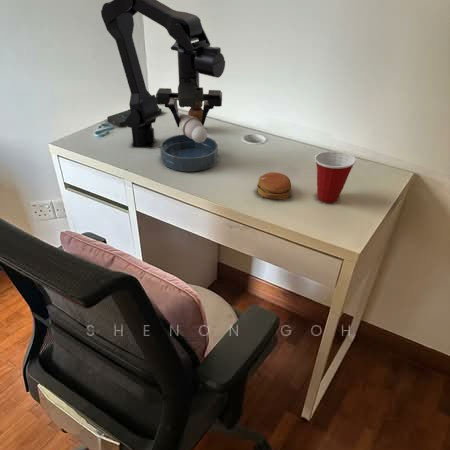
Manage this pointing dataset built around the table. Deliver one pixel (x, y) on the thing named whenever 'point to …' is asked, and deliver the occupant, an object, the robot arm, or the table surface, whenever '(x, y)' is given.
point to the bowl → (188, 153)
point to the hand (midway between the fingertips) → (190, 127)
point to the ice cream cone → (192, 128)
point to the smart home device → (122, 118)
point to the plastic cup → (332, 174)
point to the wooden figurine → (197, 111)
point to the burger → (274, 185)
